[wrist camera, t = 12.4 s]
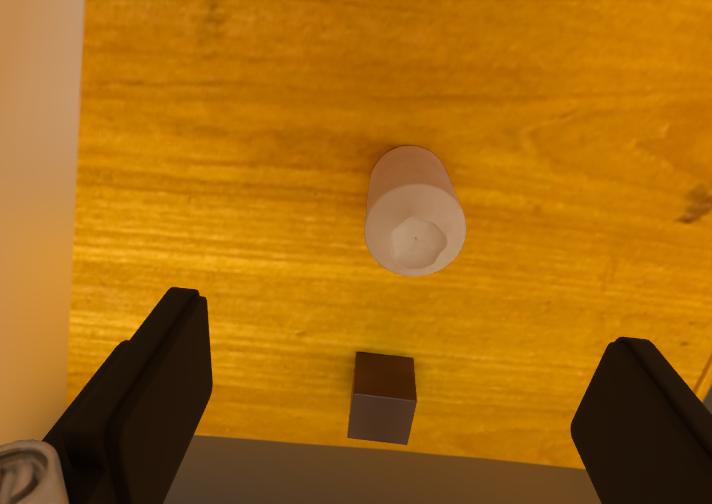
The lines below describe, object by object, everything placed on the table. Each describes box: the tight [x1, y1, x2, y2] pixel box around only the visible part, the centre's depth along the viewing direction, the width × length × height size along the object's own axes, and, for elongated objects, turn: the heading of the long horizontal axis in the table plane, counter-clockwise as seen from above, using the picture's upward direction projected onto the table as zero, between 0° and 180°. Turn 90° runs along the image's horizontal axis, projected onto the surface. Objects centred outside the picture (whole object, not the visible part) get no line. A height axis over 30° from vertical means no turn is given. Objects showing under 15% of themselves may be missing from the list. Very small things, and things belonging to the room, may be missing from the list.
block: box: [347, 352, 417, 445], centre depth 38 cm, size 5×5×5 cm
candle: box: [364, 146, 466, 276], centre depth 27 cm, size 6×6×10 cm
